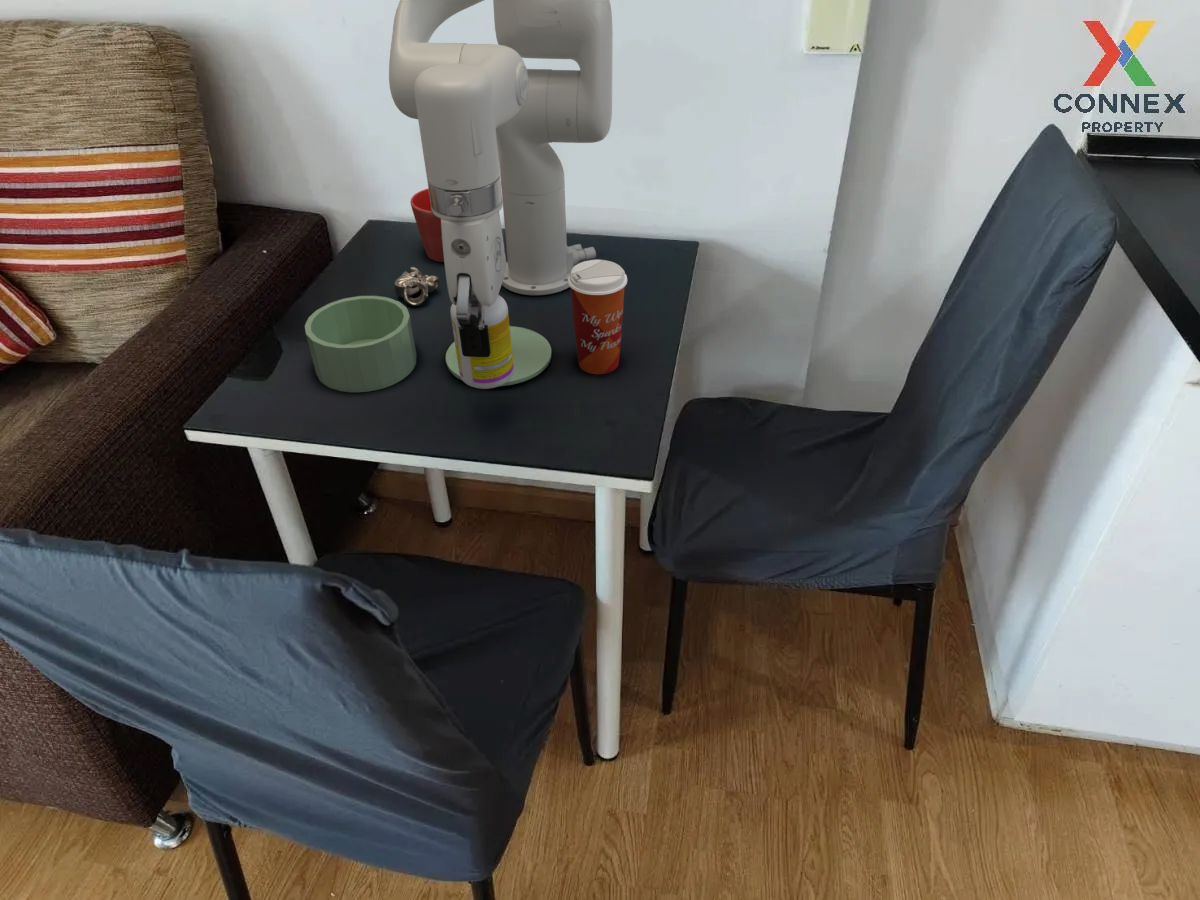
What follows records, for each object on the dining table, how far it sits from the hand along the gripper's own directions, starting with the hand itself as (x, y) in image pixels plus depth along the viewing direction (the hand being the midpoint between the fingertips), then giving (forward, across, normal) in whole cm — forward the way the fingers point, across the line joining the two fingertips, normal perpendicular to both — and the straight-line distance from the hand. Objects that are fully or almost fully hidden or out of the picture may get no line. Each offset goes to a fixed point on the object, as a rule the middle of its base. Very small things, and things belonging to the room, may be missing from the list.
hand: (482, 336), depth 102 cm
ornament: (+13, +31, +17) cm, 38 cm away
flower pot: (+13, +46, +15) cm, 50 cm away
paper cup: (+13, +13, -13) cm, 22 cm away
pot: (+12, +11, +20) cm, 26 cm away
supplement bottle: (+6, 0, 0) cm, 6 cm away
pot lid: (+12, +13, +1) cm, 18 cm away
